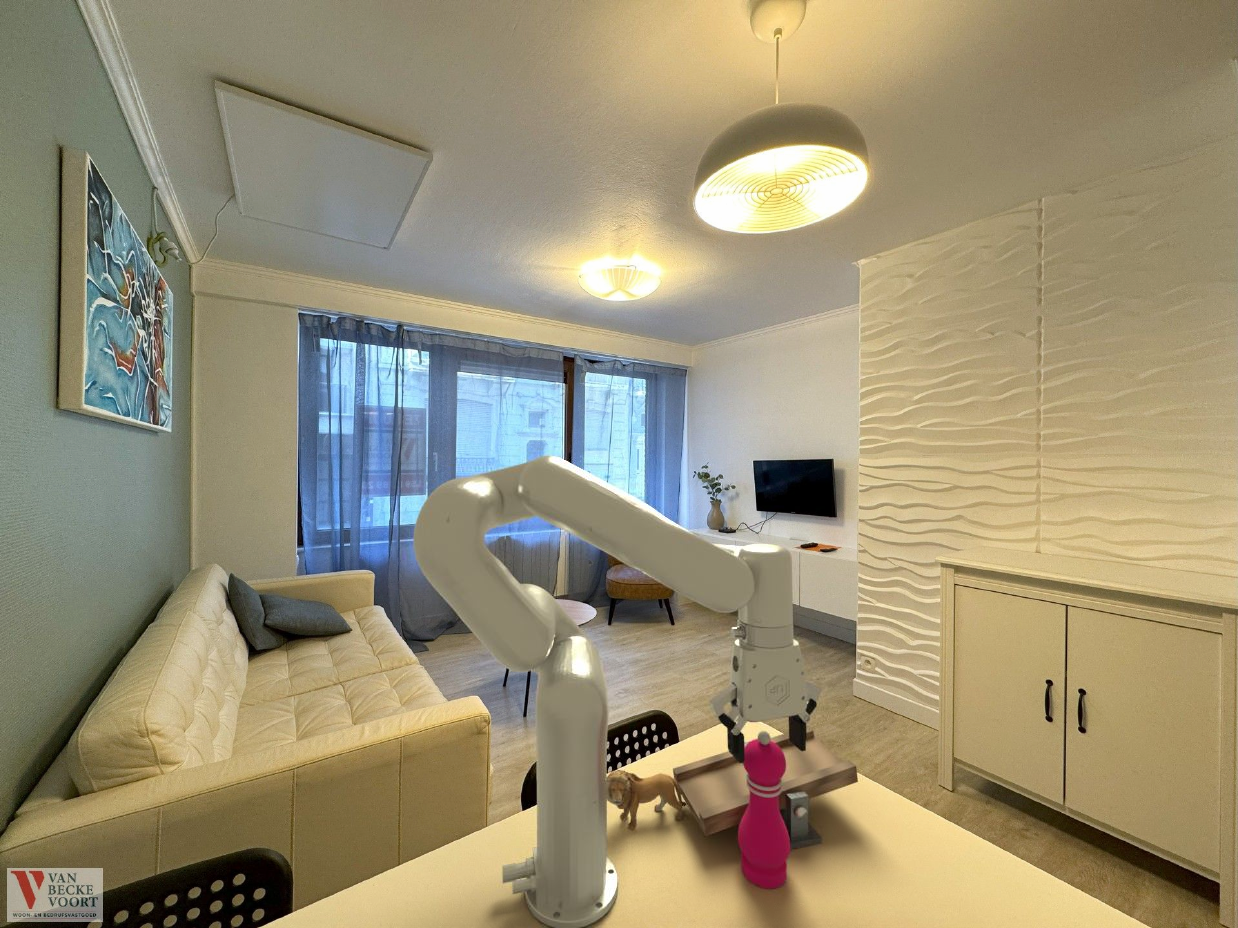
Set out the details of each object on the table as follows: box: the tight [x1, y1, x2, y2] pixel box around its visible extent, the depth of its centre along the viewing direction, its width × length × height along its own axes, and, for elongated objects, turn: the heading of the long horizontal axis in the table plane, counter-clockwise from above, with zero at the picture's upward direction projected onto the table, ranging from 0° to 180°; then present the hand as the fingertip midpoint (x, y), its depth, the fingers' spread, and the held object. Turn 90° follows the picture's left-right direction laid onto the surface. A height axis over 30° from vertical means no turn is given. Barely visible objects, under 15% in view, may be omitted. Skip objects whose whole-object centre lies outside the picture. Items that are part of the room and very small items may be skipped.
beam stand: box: [744, 741, 823, 851], centre depth 85 cm, size 7×17×7 cm, turn 15°
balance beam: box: [672, 725, 859, 837], centre depth 85 cm, size 27×13×3 cm, turn 105°
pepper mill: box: [737, 730, 791, 890], centre depth 72 cm, size 7×7×20 cm
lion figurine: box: [607, 769, 688, 831], centre depth 83 cm, size 15×5×9 cm, turn 113°
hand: (767, 751), depth 72 cm, fingers open, 9 cm apart
